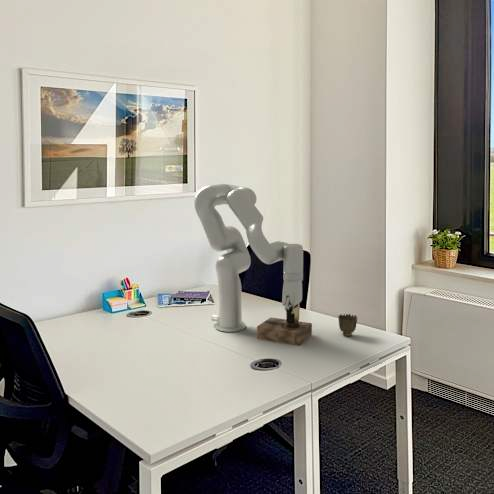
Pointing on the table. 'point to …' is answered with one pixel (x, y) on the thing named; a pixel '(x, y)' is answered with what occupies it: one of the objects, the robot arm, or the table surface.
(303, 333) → the jig
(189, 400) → the table surface
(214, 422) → the table surface
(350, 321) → the cup
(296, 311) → the cylinder
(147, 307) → the table surface
